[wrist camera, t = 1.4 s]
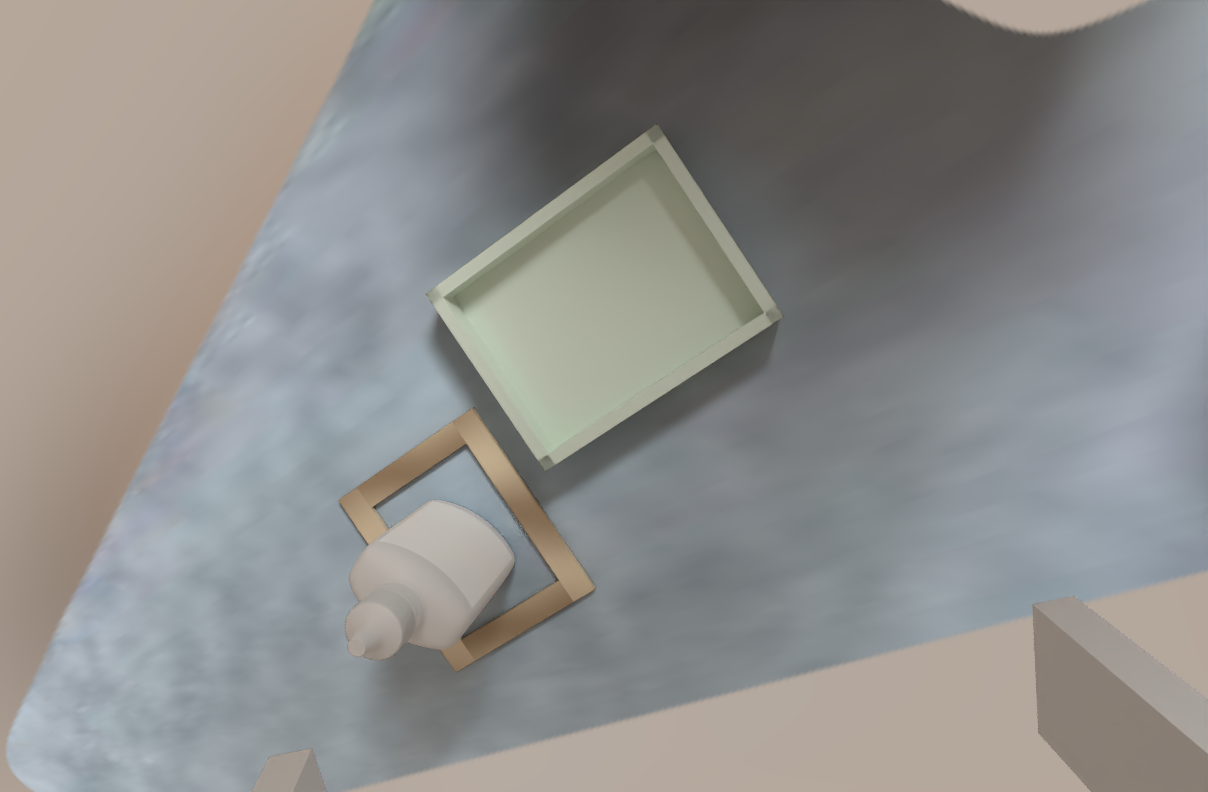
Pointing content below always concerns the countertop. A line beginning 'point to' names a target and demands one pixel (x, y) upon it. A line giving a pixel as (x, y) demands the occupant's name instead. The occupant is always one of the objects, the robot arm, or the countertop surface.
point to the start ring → (519, 500)
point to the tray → (604, 300)
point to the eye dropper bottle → (425, 580)
